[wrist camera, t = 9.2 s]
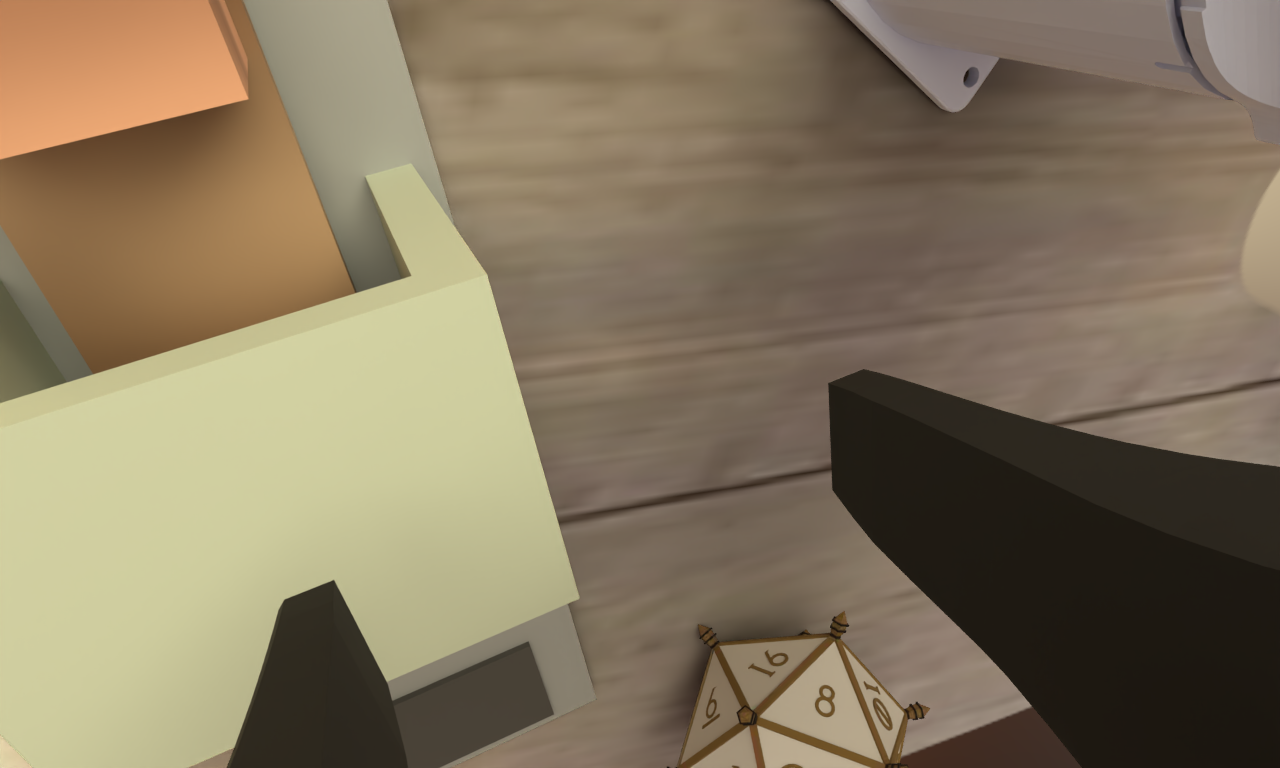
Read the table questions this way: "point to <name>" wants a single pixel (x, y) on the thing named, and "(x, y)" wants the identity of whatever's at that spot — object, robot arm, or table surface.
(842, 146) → the table surface
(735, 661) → the game die
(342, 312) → the tunnel
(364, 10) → the track board
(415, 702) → the pit
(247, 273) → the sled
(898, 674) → the table surface
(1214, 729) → the robot arm
